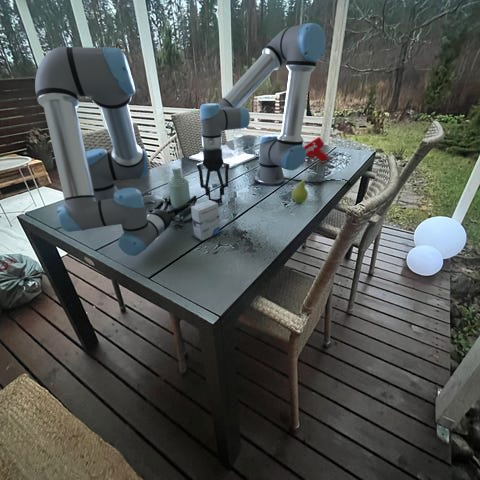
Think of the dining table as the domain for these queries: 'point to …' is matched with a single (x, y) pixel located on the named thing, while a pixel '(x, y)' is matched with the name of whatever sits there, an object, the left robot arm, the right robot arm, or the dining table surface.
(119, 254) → the dining table surface
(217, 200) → the cap
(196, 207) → the ink box
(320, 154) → the toy gun
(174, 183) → the bottle
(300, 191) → the fruit
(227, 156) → the relief map
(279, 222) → the dining table surface
